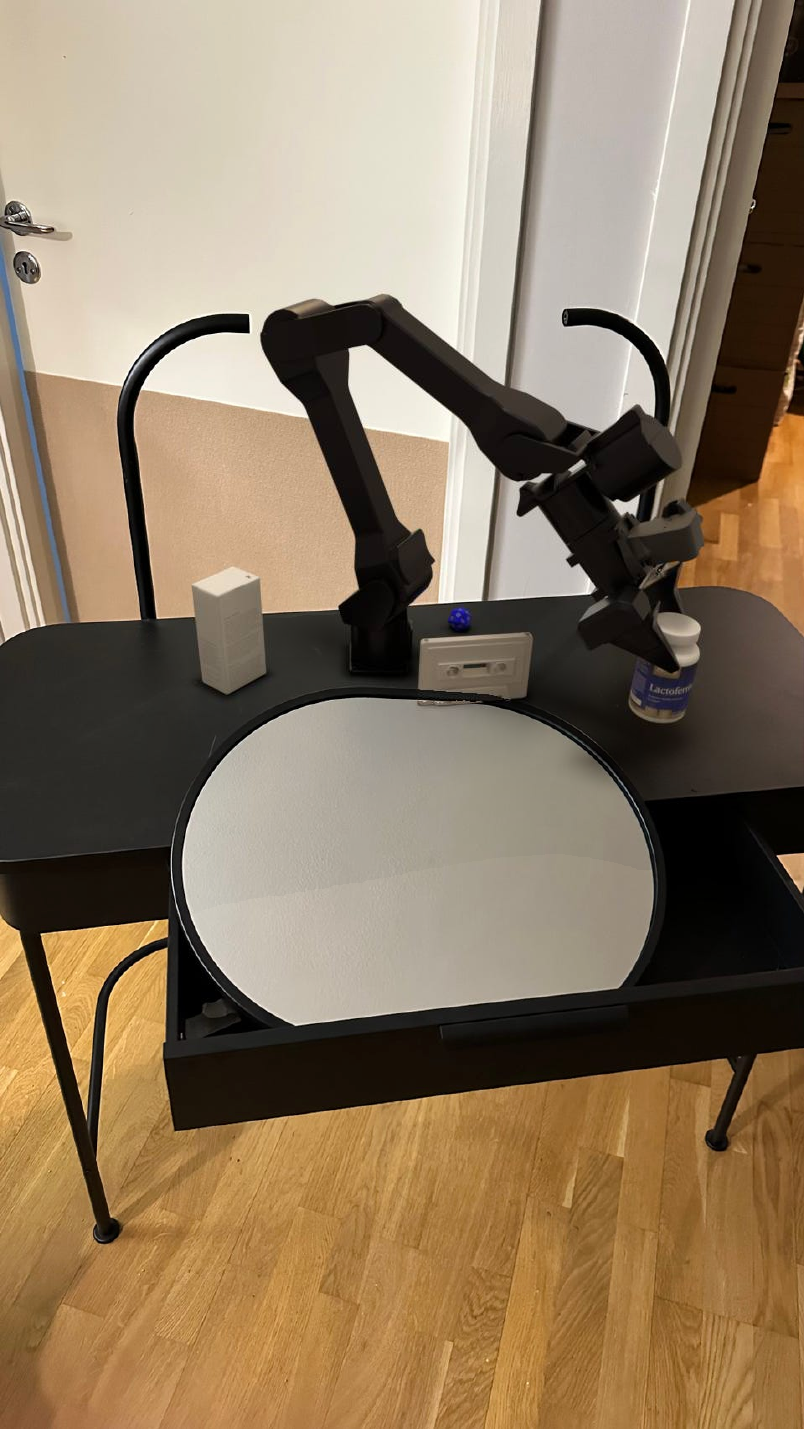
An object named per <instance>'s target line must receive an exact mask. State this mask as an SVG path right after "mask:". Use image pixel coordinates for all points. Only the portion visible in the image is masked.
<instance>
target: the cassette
mask: <svg viewBox="0 0 804 1429" xmlns="http://www.w3.org/2000/svg"><path fill="white" fill-rule="evenodd" d="M533 643H534V638H533V635H532V634H531V632H529V631H528V632H527V631H526V632H512V633H510V632H509V633H497V634H496V633H495V634H493V633H492V634H477V635H462V636H448V637H447V636H446V637H432V638H429V637H428V638H422V639H421V640H420V644H419V645H420V646H419V661H418V662H419V664H418V683H417V684H418V685H417V690H418V689H420V690H434V691H446V692H462V693H477V694H489V695H494V696H498V697H501V698H504V699H509V700H508V701H511V699H522V698H523V699H524V698H525V697H526V696H527V694H528V693H527V692H528V683H529V677H530V676H529V675H530V668H531V661H532V660H531V659H532V652H533V651H532V650H533ZM480 664H485V667H471V668H470V667H469V668H468V667H467V668H464V667H465V666H464V665H480ZM417 702H418V703H419V705H420V706H429V705H435V706H437V707H438V705H439V706H451V705H464V704H465V705H466V704H477V703H483V702H482V701H476V702H470V701H465V700H463V701H457V700H456V701H451V702H445V701H443V703H441V702H439V703H437V702H435V701H426V702H423V701H418V700H417Z"/></svg>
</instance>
